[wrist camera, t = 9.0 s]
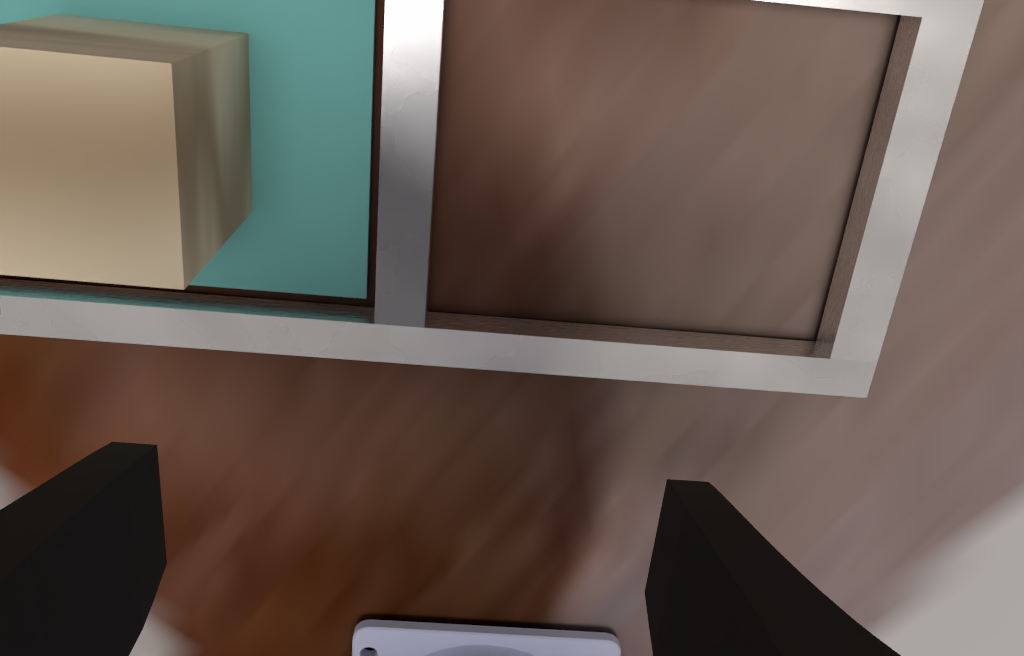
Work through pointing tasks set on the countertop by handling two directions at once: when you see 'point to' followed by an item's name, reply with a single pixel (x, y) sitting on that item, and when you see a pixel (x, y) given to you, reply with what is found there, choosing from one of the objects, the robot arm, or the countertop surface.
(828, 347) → the rail frame
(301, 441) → the countertop surface
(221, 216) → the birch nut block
